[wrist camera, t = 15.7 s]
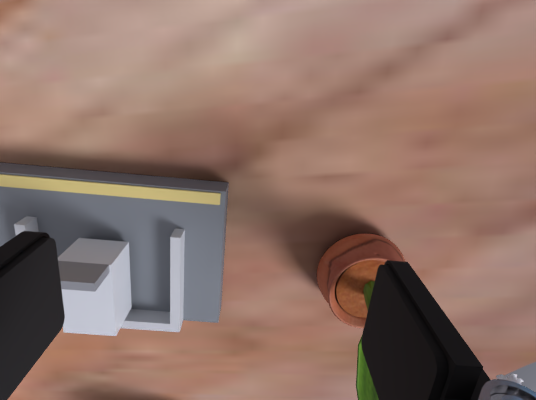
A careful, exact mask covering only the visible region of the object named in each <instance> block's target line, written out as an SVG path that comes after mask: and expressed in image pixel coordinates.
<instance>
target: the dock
mask: <svg viewBox="0 0 536 400" xmlns="http://www.w3.org/2000/svg"><path fill="white" fill-rule="evenodd" d="M228 184H229V183H228V182H217V181H206V180H194V179H183V178H172V177H160V176H149V175H137V174H126V173H115V172H103V171H92V170H81V169H69V168H58V167H47V166H35V165H24V164H13V163H1V162H0V247H1V246H2V245H4V244H5V243H6V242H8V241H9V240H11V239H12V238H14V237H15V236H16V235H18V234H19V233H21V232H23V231H33V232H45V233H48V234H49V236H50V238H53V239H54V240H55V242H56V248H57V256H58V257H59V256H60V255H61V254H62V253H63V252H64V251H65V250H66V249H68V248H69V247H70V246H71V245H72V244H73V243H74V242H75V241H76V240H77V239H78V238H87V239H99V240H111V241H124V242H129V249H130V254H129V257H130V281H131V294H132V298H131V305H132V307H131V309H130V311H129V313H128V315H127V317H126V318H125V320H124V322H123V324H122V326H121V327H120V328H127V329H141V330H155V331H169V332H180V329H181V326H182V322H183V320H188V321H202V322H216V323H218V321H219V315H220V310H221V300H222V284H223V267H224V250H225V234H226V217H227V201H228Z"/></svg>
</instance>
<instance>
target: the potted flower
mask: <svg viewBox="0 0 536 400" xmlns="http://www.w3.org/2000/svg"><path fill="white" fill-rule="evenodd" d="M387 260H391V261H404V262H405V260H404V257H403V255H402V253H401V252H400V250H399V249H398V247H397V246H396V245H395V244H394V243H392V242H391V241H390V240H388V239H386V238H384V237H382V236H379V235H374V234H356V235H351V236H348V237H346V238H343V239H341V240H339V241H338V242H336V243H335V244H333V245H332V246H331V247H330V248H329V249H328V250H327V251H326V252H325V253H324V255H323V256H322V258H321V260H320V262H319V265H318V269H317V282H318V286H319V288H320V290H321V292H322V294H323V296H324V298H325V299H326V301H327V302H328V303H329V306H330V308H331V310H332V312H333V313H334V315H335V316H336V317H337V318H338V319H339V320H341V321H342V322H344V323H346V324H348V325H350V326H353V327H358V328H364V326H365V322H366V317H367V313H368V309H369V304H370V300H371V296H372V291H373V287H374V283H375V278H376V274H377V270H378V267H379V265H384V264H385V262H386V261H387ZM361 341H362V337H361V339H360V342H359V344H358V358H357V378H356V389H357V396H358V400H379V398H378V395H377V392H376V389H375V387H374V384H373V381H372V378H371V375H370V372H369V369H368V366H367V363H366V360H365V357H364V354H363V351H362V344H361ZM496 377H497V379H504V380H508V381H512V382H515V383H518V384H520V385H521V382H523V380H522V379H517V375H515V374H509V375H508V377H507V378H506V377H505V376H504V375H502V374H501V375H497V376H496Z"/></svg>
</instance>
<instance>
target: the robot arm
mask: <svg viewBox="0 0 536 400" xmlns="http://www.w3.org/2000/svg"><path fill="white" fill-rule="evenodd" d="M64 319H65V314H64V306H63V298H62V289H61V281H60V273H59V265H58V256H57V248H56V242H55V240H54V239H53V238H50V236H49V234H48V233H45V232H33V231H23V232H21V233H19V234H18V235H16V236H15V237H14V238H12V239H11V240H9V241H8V242H6V243H5V244H4V245H2V246H1V247H0V400H7V399H8V398H9V397H10V395H11V394H12V393H13V391H14V390H15V389H16V388H17V386H18V385H19V384H20V382H21V381H22V380H23V378H24V377H25V376H26V374H27V373H28V372H29V371H30V369H31V368H32V367H33V365H34V364H35V363H36V361H37V360H38V359H39V358H40V356H41V355H42V354H43V352H44V351H45V350H46V348H47V347H48V346H49V344H50V343H51V342H52V341H53V339H54V338H55V337H56V335H57V334H58V333H59V331H60V330H61V328H62V326H63V324H64ZM361 344H362V351H363V354H364V357H365V360H366V363H367V366H368V369H369V372H370V375H371V378H372V381H373V384H374V387H375V389H376V392H377V395H378V398H379V400H536V392H534V391H532V390H530V389H529V388H527V387H525V386H522V385H520V384H518V383H515V382H512V381H508V380H504V379H493V380H490V379H489V377H488V376H487V374H486V373H485V372H484V370H483V369H482V368H483V366H482V365H481V363H480V362H479V361H478V359H477V358H476V356H475V355H474V354H473V352H472V351H471V349H470V348H469V347H468V345H467V344H466V342H465V341H464V340H463V338H462V337H461V336H460V334H459V333H458V331H457V330H456V329H455V327H454V326H453V324H452V323H451V322H450V320H449V319H448V317H447V316H446V315H445V313H444V312H443V310H442V309H441V308H440V306H439V305H438V303H437V302H436V301H435V299H434V298H433V297H432V295H431V294H430V292H429V291H428V290H427V288H426V287H425V285H424V284H423V283H422V281H421V280H420V278H419V277H418V276H417V274H416V273H415V271H414V270H413V269H412V267H411V266H410V264H409V263H408V262H404V261H391V260H387V261H386V262H385V264H384V265H379V267H378V270H377V274H376V278H375V283H374V287H373V291H372V296H371V300H370V304H369V309H368V313H367V317H366V322H365V326H364V330H363V335H362V341H361Z"/></svg>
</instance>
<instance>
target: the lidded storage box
mask: <svg viewBox="0 0 536 400" xmlns="http://www.w3.org/2000/svg"><path fill="white" fill-rule="evenodd" d="M129 254H130V249H129V242H124V241H111V240H99V239H87V238H78V239H77V240H76V241H75V242H74V243H73V244H72V245H71V246H70V247H69V248H68V249H66V250H65V251H64V252H63V253H62V254H61V255H60V256H59V257H58V265H59V273H60V281H61V289H62V298H63V306H64V314H65V319H64V324H63V330H64V332H66V333H80V334H94V335H108V336H116V335H117V333H118V331H119V329H120V327H121V326H122V324H123V322H124V320H125V318H126V317H127V315H128V313H129V311H130V309H131V307H132V305H131V298H132V294H131V281H130V257H129Z"/></svg>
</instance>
